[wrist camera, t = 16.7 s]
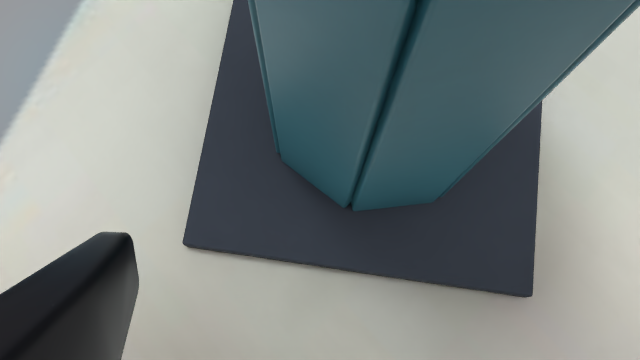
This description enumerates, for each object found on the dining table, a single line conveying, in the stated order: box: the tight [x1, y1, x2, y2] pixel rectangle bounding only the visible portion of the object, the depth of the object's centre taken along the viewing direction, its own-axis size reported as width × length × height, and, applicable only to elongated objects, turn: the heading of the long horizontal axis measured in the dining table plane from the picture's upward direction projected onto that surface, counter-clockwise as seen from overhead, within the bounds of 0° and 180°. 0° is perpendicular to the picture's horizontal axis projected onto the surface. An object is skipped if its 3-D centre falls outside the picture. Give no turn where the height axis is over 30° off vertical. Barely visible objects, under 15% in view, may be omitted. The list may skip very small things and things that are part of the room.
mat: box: [183, 0, 542, 297], centre depth 17 cm, size 10×10×1 cm
